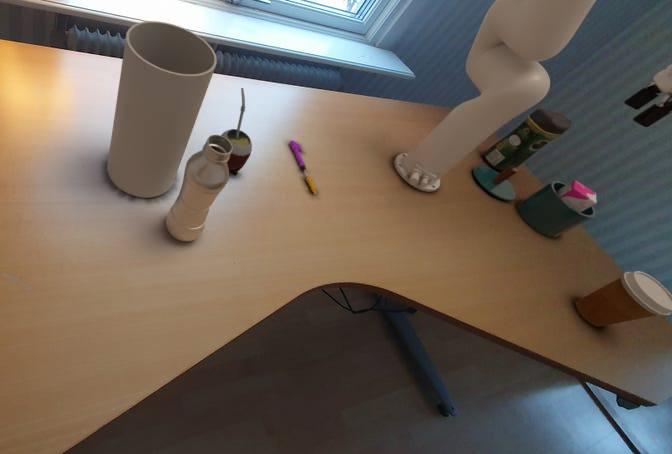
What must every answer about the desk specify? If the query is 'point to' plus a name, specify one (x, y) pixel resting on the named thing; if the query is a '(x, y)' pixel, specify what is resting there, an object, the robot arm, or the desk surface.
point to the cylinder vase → (157, 105)
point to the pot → (552, 211)
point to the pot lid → (496, 181)
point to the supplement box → (577, 196)
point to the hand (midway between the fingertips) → (634, 114)
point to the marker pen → (302, 164)
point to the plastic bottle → (199, 188)
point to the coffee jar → (527, 139)
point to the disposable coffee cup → (626, 300)
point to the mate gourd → (238, 144)
